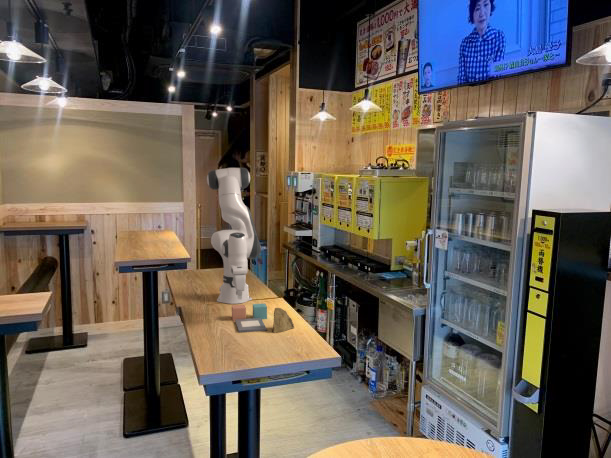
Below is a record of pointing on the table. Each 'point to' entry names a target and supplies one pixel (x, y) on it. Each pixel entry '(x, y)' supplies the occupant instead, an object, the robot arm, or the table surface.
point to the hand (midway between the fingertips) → (238, 296)
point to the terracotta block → (238, 312)
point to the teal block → (260, 311)
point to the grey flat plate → (250, 325)
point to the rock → (281, 321)
